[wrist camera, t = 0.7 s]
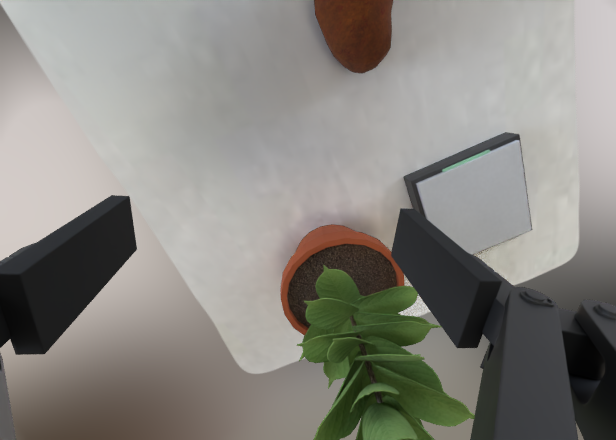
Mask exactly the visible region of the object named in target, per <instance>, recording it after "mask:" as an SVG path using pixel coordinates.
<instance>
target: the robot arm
mask: <svg viewBox="0 0 616 440" xmlns="http://www.w3.org/2000/svg"><path fill="white" fill-rule="evenodd" d="M136 249H137V247H136V240H135V233H134V226H133V219H132V212H131V204H130V197H129V196H113V195H112V196H110V197H108V198H107V199H105V200H104V201H102V202H100V203H99V204H97V205H96V206H94V207H93V208H91V209H89V210H88V211H86V212H85V213H83V214H81V215H80V216H78V217H77V218H75V219H74V220H72V221H70V222H69V223H67V224H65V225H64V226H62V227H61V228H59V229H57V230H56V231H54V232H53V233H51V234H50V235H48V236H46V237H45V238H43V239H42V240H40V241H39V242H37V243H34V244H31V245H29V246H26V247H23V248H21V249H19V250H18V251H16V252H15V253H13V254H11V255H10V256H9V257H7V258H5V259H3V260H2V261H0V348H1V347H2V346H3V345H4V344H5V343H6V342H7V341H8V340H9V339H11V342H12V345H13V348H14V350H15V353H16V354H18V355H20V354H45V353H46V352H47V351H48V350H49V349H50V347H51V346H52V345H53V344H54V343H55V342H56V341H57V339H58V338H59V337H60V336H61V335H62V334H63V332H65V330H66V329H67V328H68V327H69V326H70V325H71V324H72V322H73V321H74V320H75V319H76V318H77V317H78V315H80V313H81V312H82V311H83V310H84V309H85V308H86V307H87V305H88V304H89V303H90V302H91V301H92V300H93V299H94V297H95V296H96V295H97V294H98V293H99V292H100V291H101V289H102V288H103V287H104V286H105V285H106V284H107V283H108V281H109V280H110V279H111V278H112V277H113V276H114V275H115V274H116V272H117V271H118V270H119V269H120V268H121V267H122V266H123V265H124V263H125V262H126V261H127V260H128V259H129V257H131V255H132V254H133V253H134V252H135V251H136ZM391 257H392V258H393V259H394V261H395V262H396V263H397V265H398V266H399V268H400V269H401V270H402V272H403V273H404V275H405V276H406V277H407V279H408V280H409V282H410V283H411V284H412V286H413V287H414V289H415V290H416V291H417V293H418V294H419V296H420V297H421V298H422V300H423V301H424V303H425V304H426V305H427V307H428V308H429V310H430V311H431V312H432V314H433V315H434V316H435V318H436V319H437V321H438V322H439V323H440V325H441V326H442V328H443V329H444V330H445V332H446V333H447V335H448V336H449V337H450V339H451V340H452V342H453V343H454V344H455V345H456V347H457V348H477V347H478V345H479V342H480V339H481V337H482V334H484V335H485V337H486V338H487V339H488V340H489V341H490V343H489V346H488V349H487V351H486V354H485V356H484V359H483V361H482V364H481V366H480V367H481V368H482V369H483V373H482V379H481V384H480V390H479V395H478V401H477V406H476V412H475V417H474V423H473V428H472V434H471V439H470V440H578V435H577V429H576V423H577V425H578V427H579V429H580V431H581V433H582V436H583V438H584V440H616V306H614V305H613V306H612V305H611V304H609V303H603V302H600V301H595V300H584V301H582V303H581V304H580V306H579V308H578V310H577V311H572V310H566V309H561V308H558V306H557V304H556V302H554V301H553V300H552V299H551V298H550V297H548V296H546V295H544V294H543V293H540V292H538V291H535V290H533V289H529V288H525V287H514V286H513V285H511V284H510V283H509V282H508V281H507V280H505V279H504V278H503V277H502V276H500V275H499V274H498V273H497V272H494V270H493V269H492V268H490V267H489V266H487V264H485V263H484V262H483V261H482V260H481V259H479V258H477V257H476V256H474V255H472V254H470V253H468V252H466V251H465V250H464V249H462V248H461V247H460V246H459V245H458V244H456V243H455V242H454V241H453V240H452V239H450V238H449V237H448V236H447V235H446V234H444V233H443V232H442V231H441V230H439V229H438V228H437V227H436V226H435V225H433V224H432V223H431V222H430V221H429V220H427V219H426V218H425V217H424V216H423V215H421V214H420V213H419V212H418V211H416V210H415V209H400V214H399V219H398V224H397V229H396V233H395V238H394V243H393V248H392V253H391ZM575 420H576V422H575ZM0 440H16V436H15V430H14V424H13V418H12V413H11V406H10V400H9V394H8V388H7V382H6V376H5V371H4V365H3V359H2V356H1V353H0Z"/></svg>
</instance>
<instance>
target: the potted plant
mask: <svg viewBox="0 0 616 440" xmlns="http://www.w3.org/2000/svg"><path fill="white" fill-rule="evenodd" d="M391 253H392V252H391V251H390V250H389V249H388V248H387V247H386V246H385V245H384V244H383V243H381V242H380V241H379V240H378V239H376V238H373V237H371V236H369V235H367V234H364V233H362V232H355V231H354V230H352V229H349V228H347V227H345V226H341V225H327V226H322V227H319V228H317V229H315V230H313V231H311V232H309V233H308V234H307V235H306V236H305V237H304V238H303V239H302V240H301V242H300V244H299V246H298V248H297V250H296V252H295V254H294V255H293V256H292V257H291V258H290V260H289V262H288V264H287V266H286V268H285V270H284V271H283V275H282V282H281V302H282V306H283V310H284V314H285V316H286V317H287V319H288V320H289V322H290V323H291V325H292V326H293V327H294V328H295V329H296V330H297V331H299V332H300V333H302V334H303V335H305V336H304V339H303V343H301V344H297V346H302V347H303V353H302V356H301V358H300V360H301V359H302V358H304V357H305V358H306V359H307V360H308V361H309V362H314V363H320V362H324V367H323V370H324V373H325V374H326V376H327V377H328V378H329V386H328V388H329V387H330V385H331V384H332V382H333V381H334V380H336V379H341V378H345V377H346V378H345V380H344V382H343V384H342V386H341V389H340V391H339V393H338V395H337V397H336V399H335V401H334V403H333V406H332V408H331V409H330V411H329V412H328V414H327V415H326V417H325V418H324V420H323V421H322V423H321V424H320V426H319V427H318V430H317V433H316V435H315V438H314V440H339V439H341V438H344V437H346V436H348V435H350V434H351V433H352V431H353V430H354V429H355V427H356V426H357V424H358V422H359V420H360V418H361V421H360V426H359V429H358V433H357V437H356V440H434V438H433V437H432V436H431V435H430V434H429V433H428V432H427V431H426V430H425V429H424V427H423V425H422V423H421V420H424V421H427V422H430V423H433V424H436V425H442V426H456V425H458V424H460V423H462V422H464V421H465V420H467V419H468V418H471V419H474V417H475V415H474V414H472V413H471V412H470V411H469V410H468V408H467V407H466V406H465V405H464V404H463V403H462V402H460V401H458V400H456V399H454V398H451V397H449V396H448V395H447V394H446V393H445V392H444V391H443V388H442V385H441V382H440V380H439V378H438V376H437V374H436V373H435V372H434V370H433V369H432V368H431V367H430V366H428V365H427V364H426V363H425V362H423V361H422V360H423V359H424V357H420V354H419V355H413V354H411V353H410V352H408V351H406V350H405V349H403V348H401V346H408V345H413V344H416V343H418V342H421V341H422V340H423V339H424V338H425V336H426V335H427V333H428V332H429V330H430V329H431V328H437V327H442V326H438V325H434V324H430V323H428V322H427V321H426V320H425V319H423V318H420V317H415V316H404V315H400V314H398V313H399V312H401V311H403V310H405V309H407V308H408V307H410V306H412V305H413V304H414V303H415V301H416V299H417V295H418V293H417V291H416V290H415V289H414V288H413V287H410V286H404V274H403V272H402V270H401V269H400V268H399V266H398V265H397V263H396V262H395V261H394V259H393V258H392V257H391ZM300 360H299V361H300ZM361 416H362V417H361ZM420 419H421V420H420Z"/></svg>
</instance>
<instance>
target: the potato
mask: <svg viewBox="0 0 616 440" xmlns="http://www.w3.org/2000/svg"><path fill="white" fill-rule="evenodd" d="M314 2H315V15H316V18H317V20H318V23H319V25H320V28H321V30H322V33H323V35H324V38H325V40H326V42H327V45H328V46H329V48H330V50H331V52H332V54H333V56H334V57H335V58H336V59H337V60H338V61H339V62H340V63H341V64H342V65H343V66H344V67H345V68H347V69H349V70H350V71H352V72H356V73H365V72H367V71H370V70H372V69H374V68H375V67H377V66H378V64H379V63H380V62H381V61H382V60H383V58H384V57H385V56H386V55H387V53H388V51H389V49H390V46H391V33H392V25H391V10H392V5H393V0H314Z"/></svg>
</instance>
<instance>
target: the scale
mask: <svg viewBox="0 0 616 440" xmlns="http://www.w3.org/2000/svg"><path fill="white" fill-rule="evenodd" d="M404 180H405V183H406V186H407V190H408V193H409V196H410V199H411V203H412V206H413V209H415V210H416V211H418V212H419V213H420V214H421V215H423V216H424V217H425V218H426V219H427V220H429V221H430V222H431V223H432V224H433V225H435V226H436V227H437V228H438V229H439V230H441V231H442V232H443V233H444V234H446V235H447V236H448V237H449V238H450V239H452V240H453V241H454V242H455V243H456V244H458V245H459V246H460V247H461V248H462V249H464V250H465V251H466V252H468V253H470V254H472V255H473V254H475V253H478V252H480V251H482V250H485V249H487V248H490V247H492V246H495V245H497V244H499V243H502V242H504V241H507V240H509V239H512V238H514V237H516V236H519V235H521V234H524V233H526V232H528V231H531V230H532V225H531V217H530V210H529V203H528V195H527V188H526V180H525V173H524V165H523V158H522V151H521V143H520V136H519V134H513V133H507V132H505V133H503V134H501V135H498V136H496V137H494V138H492V139H489V140H487V141H485V142H482V143H480V144H478V145H476V146H473V147H471V148H469V149H466V150H464V151H462V152H459V153H457V154H455V155H453V156H450V157H448V158H446V159H443V160H441V161H439V162H436V163H434V164H432V165H430V166H427V167H425V168H423V169H420V170H418V171H416V172H414V173H411V174H409V175H407V176H404Z"/></svg>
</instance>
